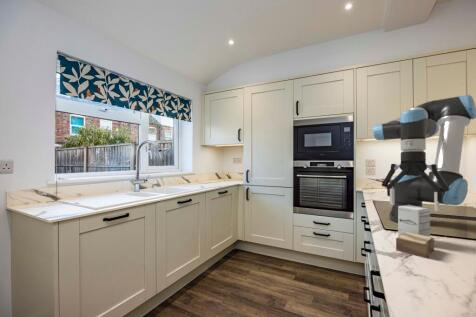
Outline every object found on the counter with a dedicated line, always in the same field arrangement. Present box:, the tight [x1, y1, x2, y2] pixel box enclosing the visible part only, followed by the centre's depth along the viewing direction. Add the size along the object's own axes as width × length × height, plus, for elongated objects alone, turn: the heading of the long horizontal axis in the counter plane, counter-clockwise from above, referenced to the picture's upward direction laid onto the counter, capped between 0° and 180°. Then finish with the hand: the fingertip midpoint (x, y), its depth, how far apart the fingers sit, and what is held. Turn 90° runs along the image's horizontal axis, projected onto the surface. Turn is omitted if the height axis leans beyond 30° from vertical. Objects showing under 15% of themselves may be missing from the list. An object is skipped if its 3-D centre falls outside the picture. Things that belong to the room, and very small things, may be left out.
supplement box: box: [397, 205, 431, 237], centre depth 86 cm, size 7×7×13 cm
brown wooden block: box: [395, 232, 435, 259], centre depth 77 cm, size 10×8×4 cm
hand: (413, 207), depth 86 cm, fingers open, 13 cm apart
